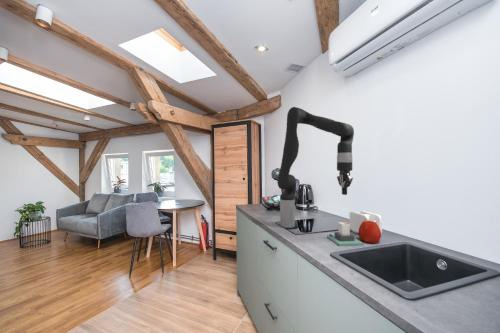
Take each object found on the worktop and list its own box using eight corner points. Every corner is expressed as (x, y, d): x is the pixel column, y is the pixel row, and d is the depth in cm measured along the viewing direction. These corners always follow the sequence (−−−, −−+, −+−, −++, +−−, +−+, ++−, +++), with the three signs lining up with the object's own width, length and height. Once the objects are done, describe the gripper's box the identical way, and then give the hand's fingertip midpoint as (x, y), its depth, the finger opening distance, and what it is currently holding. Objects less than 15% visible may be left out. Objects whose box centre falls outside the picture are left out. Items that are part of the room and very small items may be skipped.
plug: (338, 237, 115) (338, 221, 115) (345, 237, 116) (345, 221, 116) (342, 240, 111) (342, 223, 111) (349, 239, 112) (349, 223, 112)
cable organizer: (348, 230, 133) (348, 210, 133) (363, 229, 135) (363, 210, 135) (366, 237, 118) (366, 216, 118) (383, 236, 120) (383, 215, 120)
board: (327, 236, 120) (327, 230, 120) (348, 236, 121) (348, 229, 121) (339, 245, 106) (339, 238, 106) (363, 245, 107) (363, 237, 107)
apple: (375, 238, 118) (374, 218, 118) (385, 244, 107) (385, 223, 108) (355, 237, 118) (355, 218, 118) (364, 244, 108) (363, 222, 108)
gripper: (332, 161, 123) (332, 193, 123) (343, 161, 109) (343, 196, 110) (345, 161, 123) (345, 193, 123) (358, 161, 110) (358, 196, 110)
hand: (344, 194), depth 116 cm, fingers closed
